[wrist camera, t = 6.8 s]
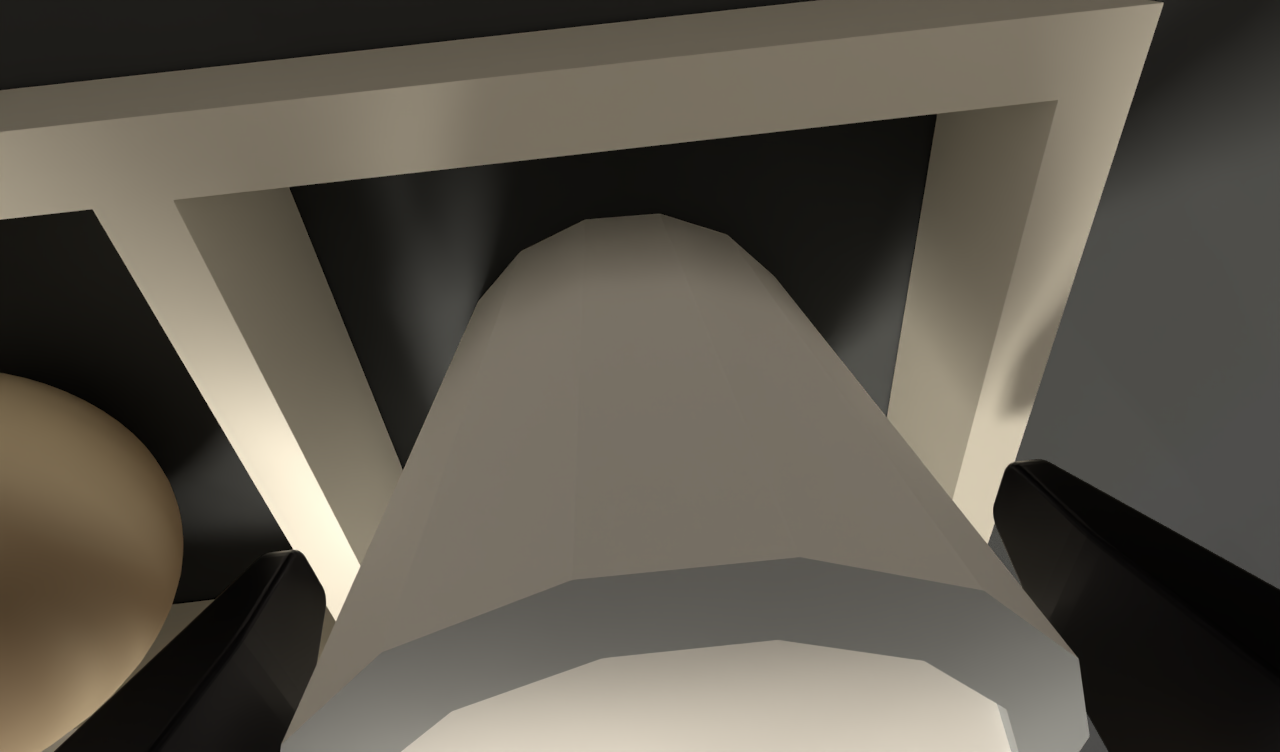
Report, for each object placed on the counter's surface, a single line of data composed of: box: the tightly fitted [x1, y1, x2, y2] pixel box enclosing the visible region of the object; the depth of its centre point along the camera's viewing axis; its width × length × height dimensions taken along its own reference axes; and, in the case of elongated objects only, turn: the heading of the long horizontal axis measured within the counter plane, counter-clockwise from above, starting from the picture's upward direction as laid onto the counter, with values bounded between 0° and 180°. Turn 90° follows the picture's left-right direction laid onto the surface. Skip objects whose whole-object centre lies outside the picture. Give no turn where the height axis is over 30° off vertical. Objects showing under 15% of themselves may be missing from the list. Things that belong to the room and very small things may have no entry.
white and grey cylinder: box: [280, 213, 1089, 752], centre depth 9 cm, size 7×7×7 cm
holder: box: [0, 0, 1164, 752], centre depth 10 cm, size 11×20×2 cm, turn 95°
